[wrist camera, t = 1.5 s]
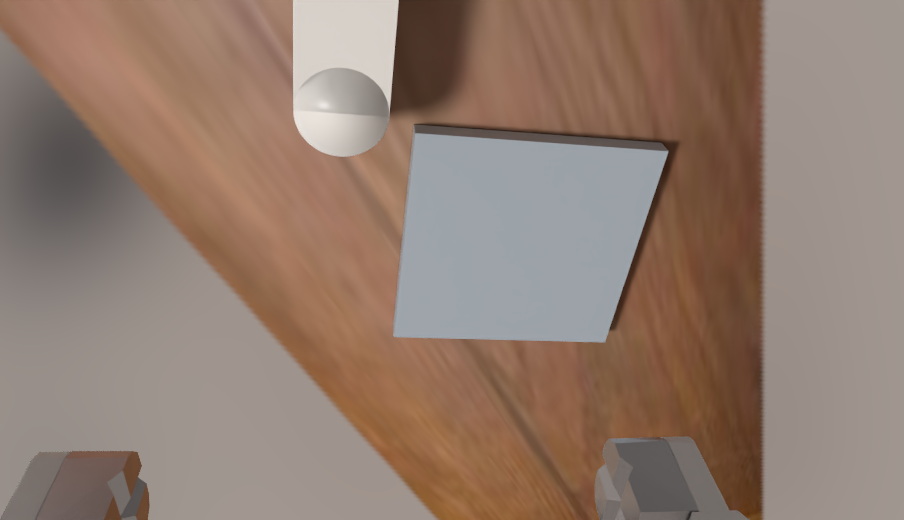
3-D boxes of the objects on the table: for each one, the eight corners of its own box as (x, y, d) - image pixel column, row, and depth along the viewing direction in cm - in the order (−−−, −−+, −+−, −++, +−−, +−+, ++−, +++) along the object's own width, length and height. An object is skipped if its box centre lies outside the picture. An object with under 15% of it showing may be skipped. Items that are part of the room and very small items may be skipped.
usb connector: (300, -102, 28) (293, -84, 25) (399, -90, 29) (404, -71, 26) (299, 115, 34) (293, 153, 30) (383, 121, 34) (385, 159, 31)
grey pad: (413, 124, 34) (415, 133, 34) (661, 142, 36) (668, 151, 36) (393, 325, 42) (393, 337, 41) (600, 331, 44) (604, 342, 43)
